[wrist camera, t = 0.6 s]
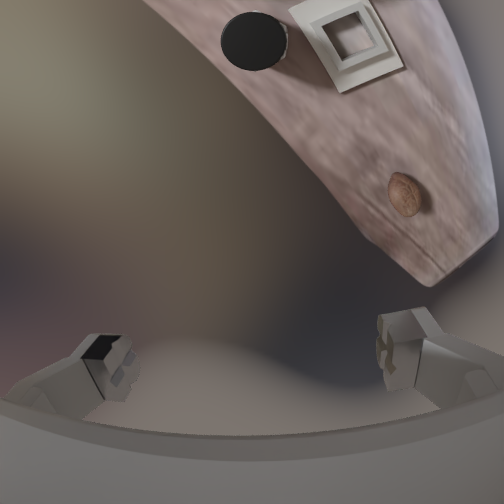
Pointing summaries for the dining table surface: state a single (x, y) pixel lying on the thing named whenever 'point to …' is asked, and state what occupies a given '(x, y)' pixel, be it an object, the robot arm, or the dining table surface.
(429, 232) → the dining table surface
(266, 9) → the dining table surface
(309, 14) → the socket
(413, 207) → the mushroom
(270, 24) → the jar
